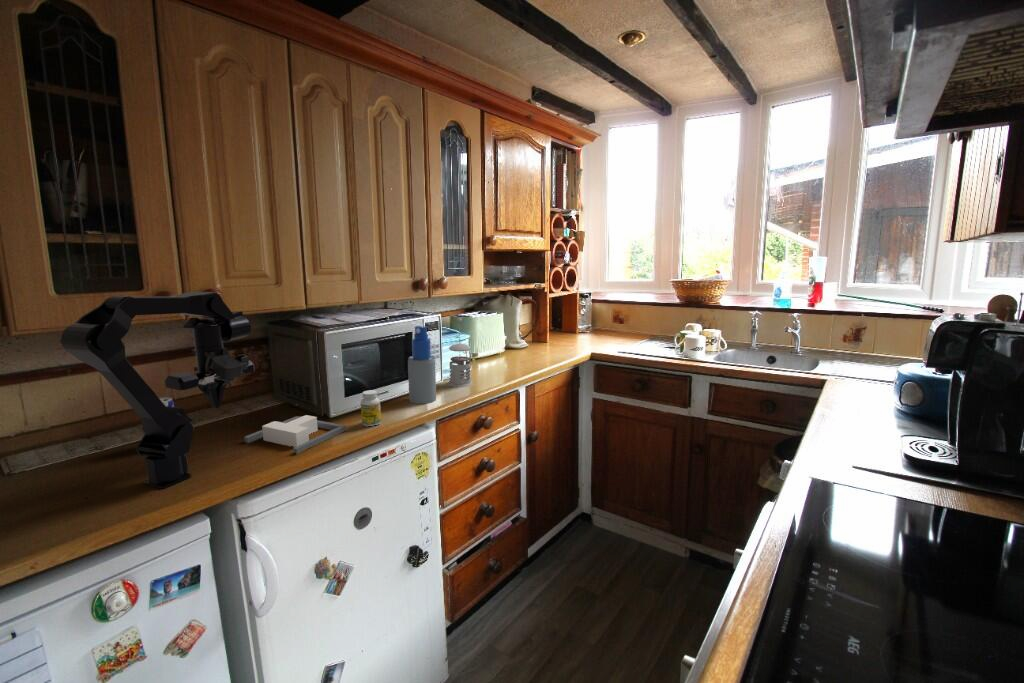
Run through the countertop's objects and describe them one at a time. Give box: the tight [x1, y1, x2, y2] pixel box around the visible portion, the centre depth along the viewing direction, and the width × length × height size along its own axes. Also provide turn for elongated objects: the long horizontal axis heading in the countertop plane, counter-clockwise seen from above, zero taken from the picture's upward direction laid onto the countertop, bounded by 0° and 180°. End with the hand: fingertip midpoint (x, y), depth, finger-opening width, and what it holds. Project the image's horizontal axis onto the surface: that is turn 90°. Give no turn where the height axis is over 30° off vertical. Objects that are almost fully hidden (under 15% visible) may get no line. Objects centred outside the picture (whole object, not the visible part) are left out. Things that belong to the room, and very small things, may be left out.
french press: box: [446, 317, 474, 388], centre depth 181 cm, size 10×12×25 cm
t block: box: [261, 414, 319, 448], centre depth 131 cm, size 11×12×4 cm
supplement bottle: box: [360, 389, 382, 427], centre depth 140 cm, size 5×5×10 cm
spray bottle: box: [407, 325, 437, 405], centre depth 161 cm, size 9×9×25 cm
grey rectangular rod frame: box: [243, 415, 347, 454], centre depth 131 cm, size 17×18×2 cm
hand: (216, 407), depth 118 cm, fingers closed
